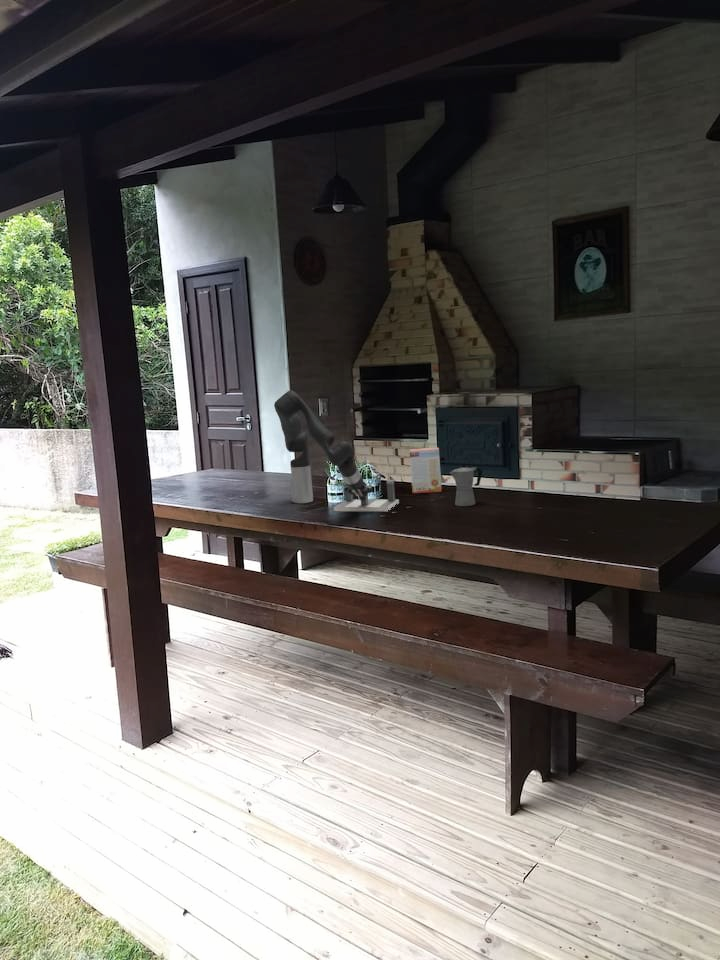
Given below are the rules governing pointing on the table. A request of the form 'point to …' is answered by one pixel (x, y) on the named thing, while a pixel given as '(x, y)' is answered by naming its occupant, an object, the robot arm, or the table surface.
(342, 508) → the grey base with posts
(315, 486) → the table surface
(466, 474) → the coffeepot
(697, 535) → the table surface
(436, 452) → the cracker box
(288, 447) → the robot arm
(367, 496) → the breaker
